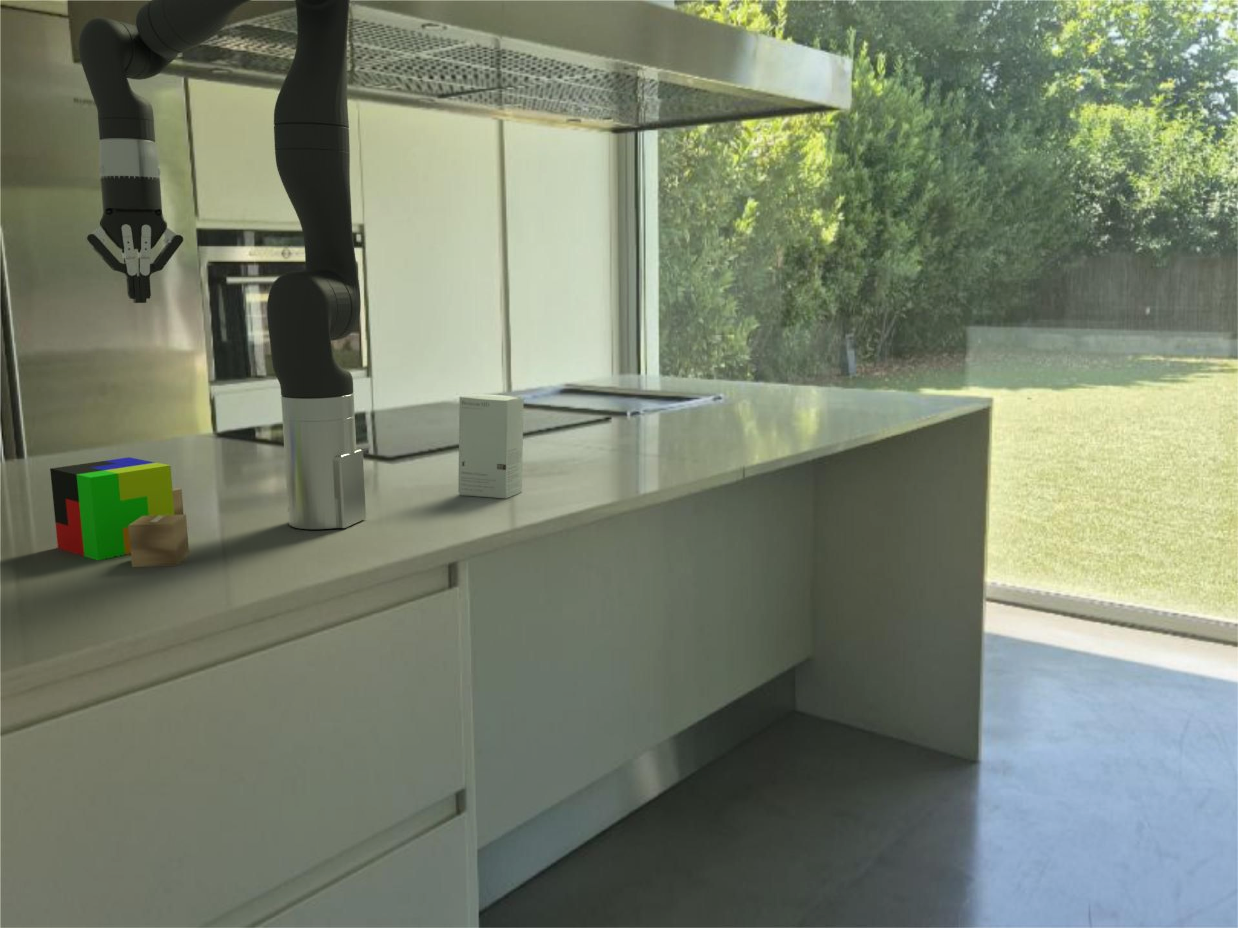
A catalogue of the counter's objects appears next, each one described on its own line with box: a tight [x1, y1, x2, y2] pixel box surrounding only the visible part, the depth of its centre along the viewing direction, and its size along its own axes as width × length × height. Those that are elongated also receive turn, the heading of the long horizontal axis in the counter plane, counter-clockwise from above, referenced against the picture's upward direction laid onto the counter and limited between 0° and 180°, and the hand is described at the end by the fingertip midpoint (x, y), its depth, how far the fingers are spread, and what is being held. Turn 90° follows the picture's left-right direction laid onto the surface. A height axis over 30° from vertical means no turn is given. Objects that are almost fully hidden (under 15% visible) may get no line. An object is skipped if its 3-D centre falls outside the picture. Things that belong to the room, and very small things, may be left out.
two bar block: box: [172, 487, 185, 515], centre depth 149 cm, size 5×5×5 cm
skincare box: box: [458, 393, 525, 499], centre depth 167 cm, size 8×6×15 cm
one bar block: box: [128, 514, 190, 568], centre depth 132 cm, size 5×5×5 cm
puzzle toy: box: [50, 456, 174, 561], centre depth 139 cm, size 10×10×10 cm
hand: (139, 302), depth 157 cm, fingers closed
